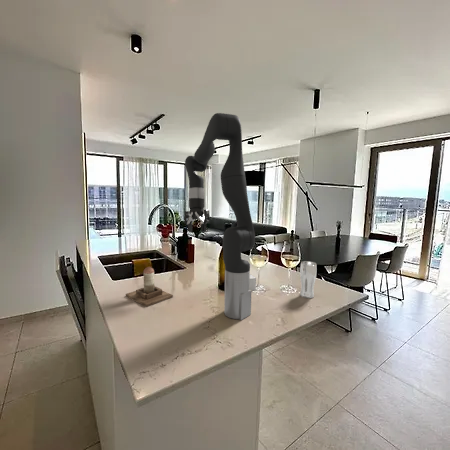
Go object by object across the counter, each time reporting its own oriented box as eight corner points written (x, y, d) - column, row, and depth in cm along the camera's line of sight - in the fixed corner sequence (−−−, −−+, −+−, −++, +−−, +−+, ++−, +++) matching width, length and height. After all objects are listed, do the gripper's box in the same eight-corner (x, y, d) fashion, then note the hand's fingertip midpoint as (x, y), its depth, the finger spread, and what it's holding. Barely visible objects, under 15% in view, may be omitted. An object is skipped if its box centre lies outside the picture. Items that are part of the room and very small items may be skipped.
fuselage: (156, 294, 113) (156, 267, 111) (147, 297, 110) (147, 269, 108) (150, 291, 116) (150, 265, 114) (142, 294, 112) (141, 267, 111)
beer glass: (314, 293, 119) (316, 261, 117) (315, 299, 112) (317, 266, 110) (298, 291, 121) (300, 260, 119) (298, 297, 114) (300, 264, 112)
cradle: (172, 297, 112) (172, 290, 112) (146, 307, 103) (146, 299, 102) (151, 288, 123) (151, 281, 122) (125, 296, 113) (125, 289, 113)
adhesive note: (255, 290, 122) (256, 277, 122) (244, 291, 120) (244, 279, 119) (250, 285, 128) (250, 274, 127) (239, 287, 126) (239, 275, 125)
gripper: (180, 198, 125) (180, 232, 124) (202, 196, 116) (202, 232, 116) (191, 200, 131) (191, 232, 130) (213, 197, 122) (213, 232, 122)
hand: (196, 232), depth 123 cm, fingers open, 8 cm apart
